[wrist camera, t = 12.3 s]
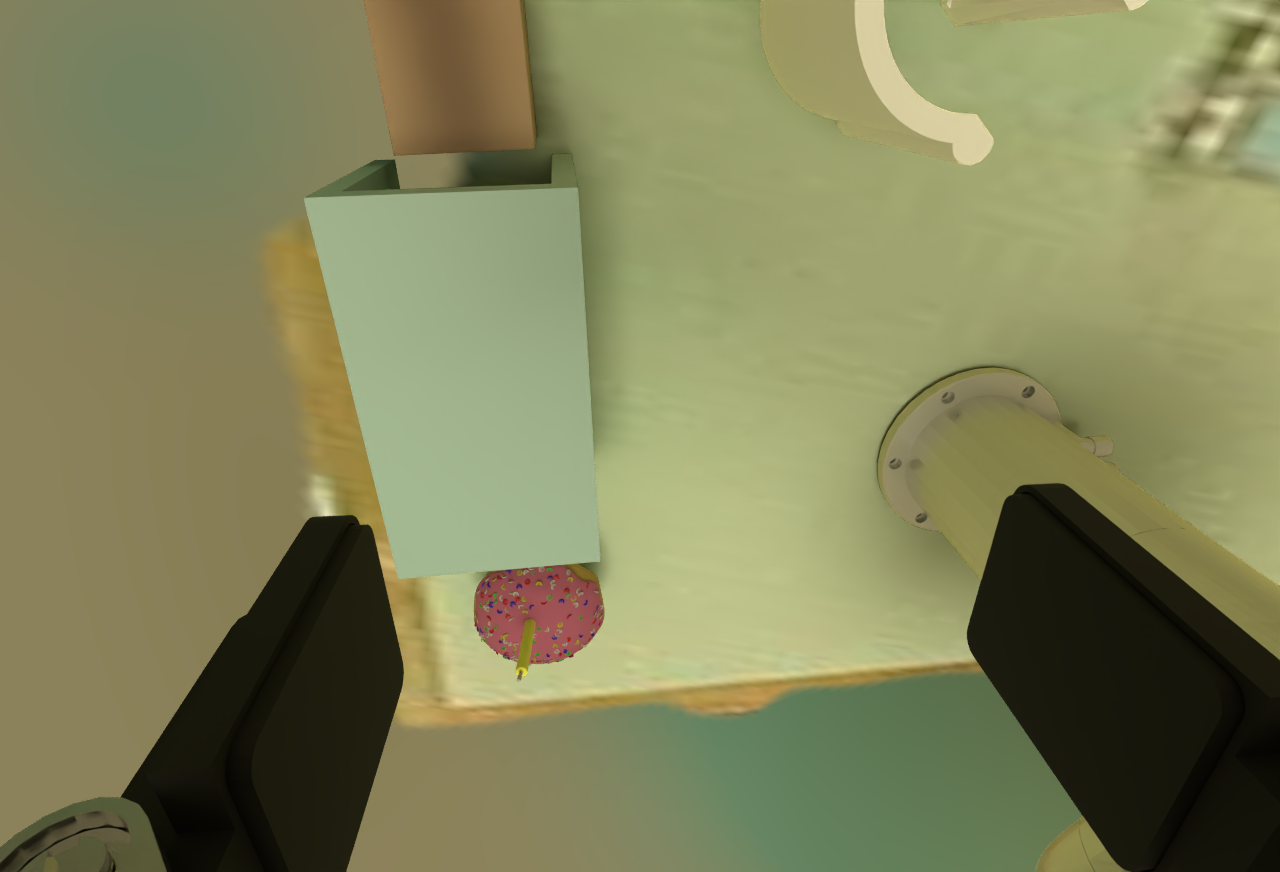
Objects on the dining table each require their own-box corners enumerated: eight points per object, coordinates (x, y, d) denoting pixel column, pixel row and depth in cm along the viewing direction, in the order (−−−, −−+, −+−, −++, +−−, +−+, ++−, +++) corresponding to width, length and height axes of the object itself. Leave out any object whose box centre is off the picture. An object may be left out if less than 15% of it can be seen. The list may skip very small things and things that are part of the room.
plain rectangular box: (571, 153, 35) (578, 187, 26) (590, 451, 44) (600, 561, 34) (374, 160, 34) (303, 197, 25) (433, 462, 43) (398, 578, 33)
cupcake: (455, 547, 46) (426, 686, 36) (564, 496, 45) (568, 624, 35) (519, 626, 51) (510, 772, 40) (620, 581, 50) (638, 719, 39)
